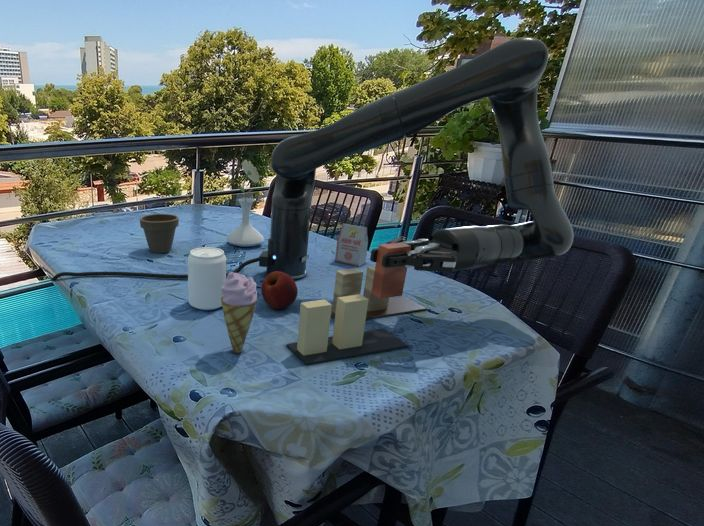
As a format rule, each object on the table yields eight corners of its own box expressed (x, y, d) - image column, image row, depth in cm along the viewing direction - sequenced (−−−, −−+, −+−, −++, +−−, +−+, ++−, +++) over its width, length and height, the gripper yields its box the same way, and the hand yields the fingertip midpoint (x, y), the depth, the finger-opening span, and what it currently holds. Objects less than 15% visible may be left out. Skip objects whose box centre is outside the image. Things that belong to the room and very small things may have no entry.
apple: (253, 303, 102) (254, 269, 98) (282, 297, 104) (285, 263, 101) (272, 316, 95) (274, 280, 92) (303, 309, 98) (306, 274, 95)
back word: (341, 323, 92) (346, 278, 88) (322, 309, 98) (326, 267, 94) (426, 310, 96) (435, 267, 92) (403, 297, 102) (410, 256, 99)
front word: (306, 365, 78) (310, 314, 74) (286, 345, 84) (289, 298, 80) (407, 347, 82) (417, 298, 79) (382, 330, 88) (389, 284, 85)
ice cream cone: (217, 342, 86) (217, 265, 80) (250, 340, 86) (253, 263, 80) (223, 360, 80) (224, 279, 74) (259, 358, 80) (263, 276, 74)
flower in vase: (266, 249, 138) (270, 162, 128) (228, 250, 138) (229, 163, 129) (259, 237, 150) (263, 157, 140) (224, 238, 150) (225, 158, 141)
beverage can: (229, 299, 104) (230, 247, 100) (220, 313, 97) (221, 259, 93) (194, 295, 107) (194, 245, 102) (183, 309, 100) (182, 256, 95)
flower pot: (157, 242, 148) (156, 211, 144) (186, 248, 142) (186, 215, 138) (133, 252, 139) (131, 219, 135) (163, 258, 133) (162, 223, 129)
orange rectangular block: (379, 299, 80) (388, 248, 76) (371, 293, 82) (378, 244, 78) (402, 295, 81) (411, 246, 77) (393, 290, 83) (401, 242, 79)
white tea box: (341, 257, 129) (345, 222, 125) (365, 262, 124) (370, 226, 120) (335, 260, 127) (339, 224, 123) (358, 266, 122) (363, 229, 118)
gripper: (436, 218, 86) (355, 226, 82) (503, 238, 74) (411, 248, 70) (429, 257, 89) (350, 266, 85) (491, 281, 77) (402, 294, 73)
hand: (378, 258), depth 78 cm, fingers closed on orange rectangular block, 2 cm apart
